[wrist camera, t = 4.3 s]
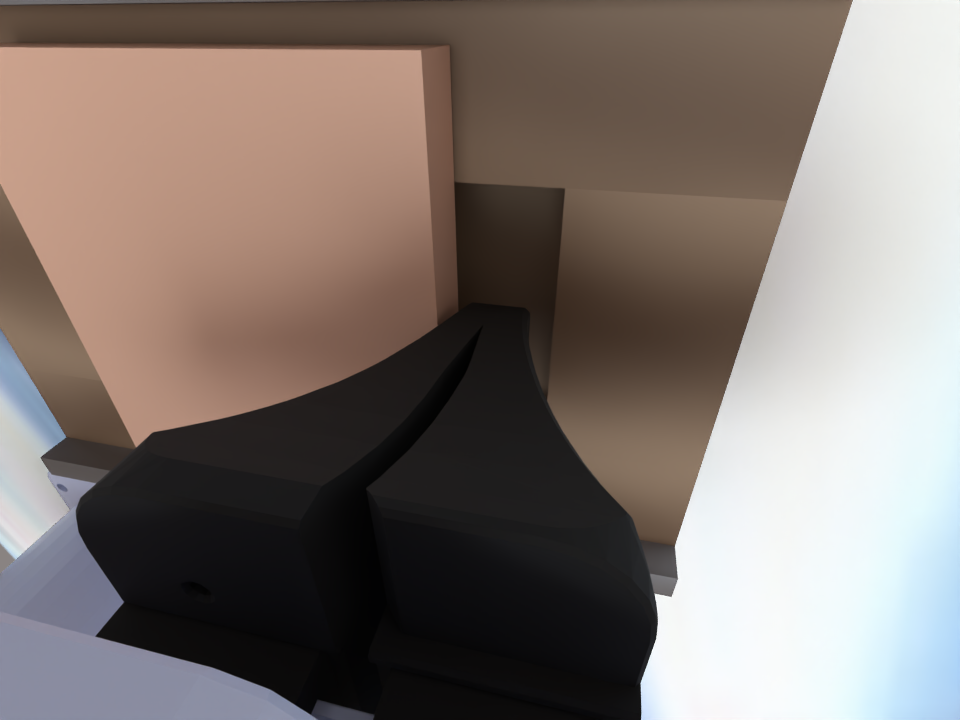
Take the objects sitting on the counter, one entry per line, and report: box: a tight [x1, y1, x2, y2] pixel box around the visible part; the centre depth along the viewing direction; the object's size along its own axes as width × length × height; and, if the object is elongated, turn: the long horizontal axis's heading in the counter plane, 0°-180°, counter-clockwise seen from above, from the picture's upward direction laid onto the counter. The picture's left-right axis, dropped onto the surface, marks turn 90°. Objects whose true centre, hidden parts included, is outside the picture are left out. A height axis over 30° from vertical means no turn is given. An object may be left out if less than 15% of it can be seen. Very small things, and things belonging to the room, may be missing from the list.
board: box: [0, 0, 853, 597], centre depth 13 cm, size 14×20×4 cm
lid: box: [0, 43, 458, 447], centre depth 12 cm, size 11×9×2 cm
